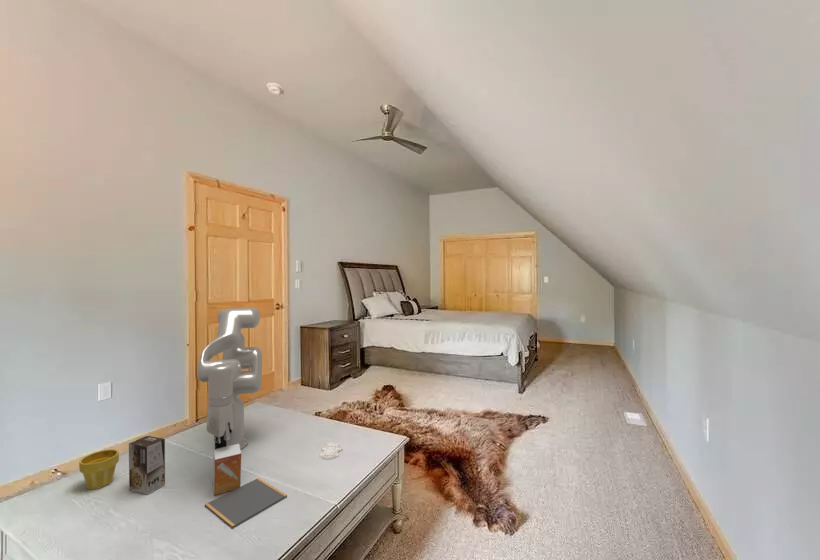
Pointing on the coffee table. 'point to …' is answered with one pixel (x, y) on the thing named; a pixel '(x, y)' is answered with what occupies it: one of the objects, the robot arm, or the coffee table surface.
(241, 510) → the mat
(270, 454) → the coffee table surface
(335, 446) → the astronaut figurine
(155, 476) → the coffee box
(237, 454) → the small box
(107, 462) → the plant pot
